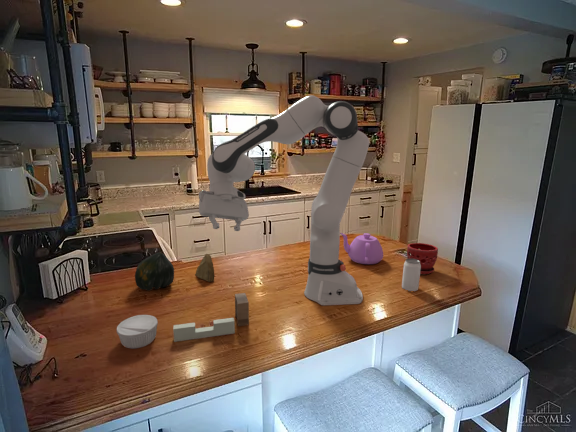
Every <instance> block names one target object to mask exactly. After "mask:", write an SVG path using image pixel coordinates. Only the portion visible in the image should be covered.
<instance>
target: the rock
mask: <svg viewBox="0 0 576 432" xmlns="http://www.w3.org/2000/svg"><path fill="white" fill-rule="evenodd" d="M214 268H215V267H214V263H213V260H212V256H211V254H209V253H205V255H204V256H203V257H202V259H201V261H200V263H199V265H198V266H197V269H196V271H195V274H194V275H195V276H196V277H197V278H198V279H201V280H203V281H207V282H209V283H210V282H214V281H215V269H214Z"/></svg>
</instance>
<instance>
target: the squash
mask: <svg viewBox="0 0 576 432" xmlns="http://www.w3.org/2000/svg"><path fill="white" fill-rule="evenodd" d="M174 278H175V268H174V265H173V263H172V262H171V261H170V260H169V258H168V257H167V256H166V255H165V254H164V253H163V252H156V253H154V254H152V255H150V256H148V257H146V258H145V259H143V260H140V262H139V263H138V265H137V267H136V269H135V273H134V281H135V284H136V287H138V288H139V289H140V290H146V291H152V290H154V289H155V290H159V289H162V288H165V287H169V286H171V285H172V284H173V282H174Z"/></svg>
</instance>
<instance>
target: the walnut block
mask: <svg viewBox="0 0 576 432" xmlns="http://www.w3.org/2000/svg"><path fill="white" fill-rule="evenodd" d="M249 303H250V302H249V300H248V296H247V294H246V292H241V293H240V292H239V293H235V294H234V313H235V314H234V316H235V318H237V320H236V321H237V327H244V326H249V324H250V317H249V316H250V313H249V311H250V309H249V307H250V306H249Z"/></svg>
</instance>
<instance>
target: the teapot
mask: <svg viewBox="0 0 576 432" xmlns="http://www.w3.org/2000/svg"><path fill="white" fill-rule="evenodd" d="M340 235H341V236H342V237H343V238H342V239H343V249H344V251H345V252H346V253H347V256H348V257H349V258H350V260H351V261H352V262H354V263H356V264H357V263H358V264H362V265H375V264H378V263H380V262H381V261H382V260H383V258H384V250H383V246H382V245H381V243H380V241H379V240H378V238H377V237H375V236H373V235H372V234H371V233H367V232H364V233H363V234H360V235H357V236H356V237H355V238H354V239H353V240H352V241H351V243H350V244H349V243H348V242H349V241H348V236H347V235H346V234H345V233H343V232H340Z"/></svg>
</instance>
